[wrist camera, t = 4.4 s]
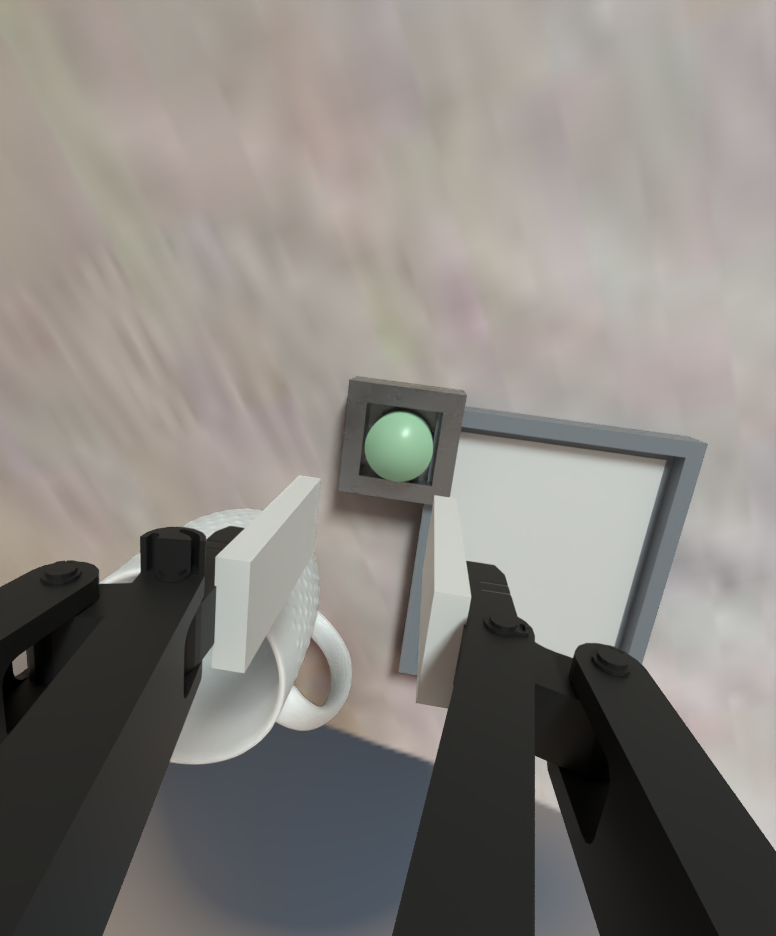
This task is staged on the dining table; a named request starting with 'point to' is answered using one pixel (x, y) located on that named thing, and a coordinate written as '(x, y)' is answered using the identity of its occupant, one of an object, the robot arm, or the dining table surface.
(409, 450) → the button
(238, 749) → the mug
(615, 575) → the tray
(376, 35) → the dining table surface
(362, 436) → the grey square frame
